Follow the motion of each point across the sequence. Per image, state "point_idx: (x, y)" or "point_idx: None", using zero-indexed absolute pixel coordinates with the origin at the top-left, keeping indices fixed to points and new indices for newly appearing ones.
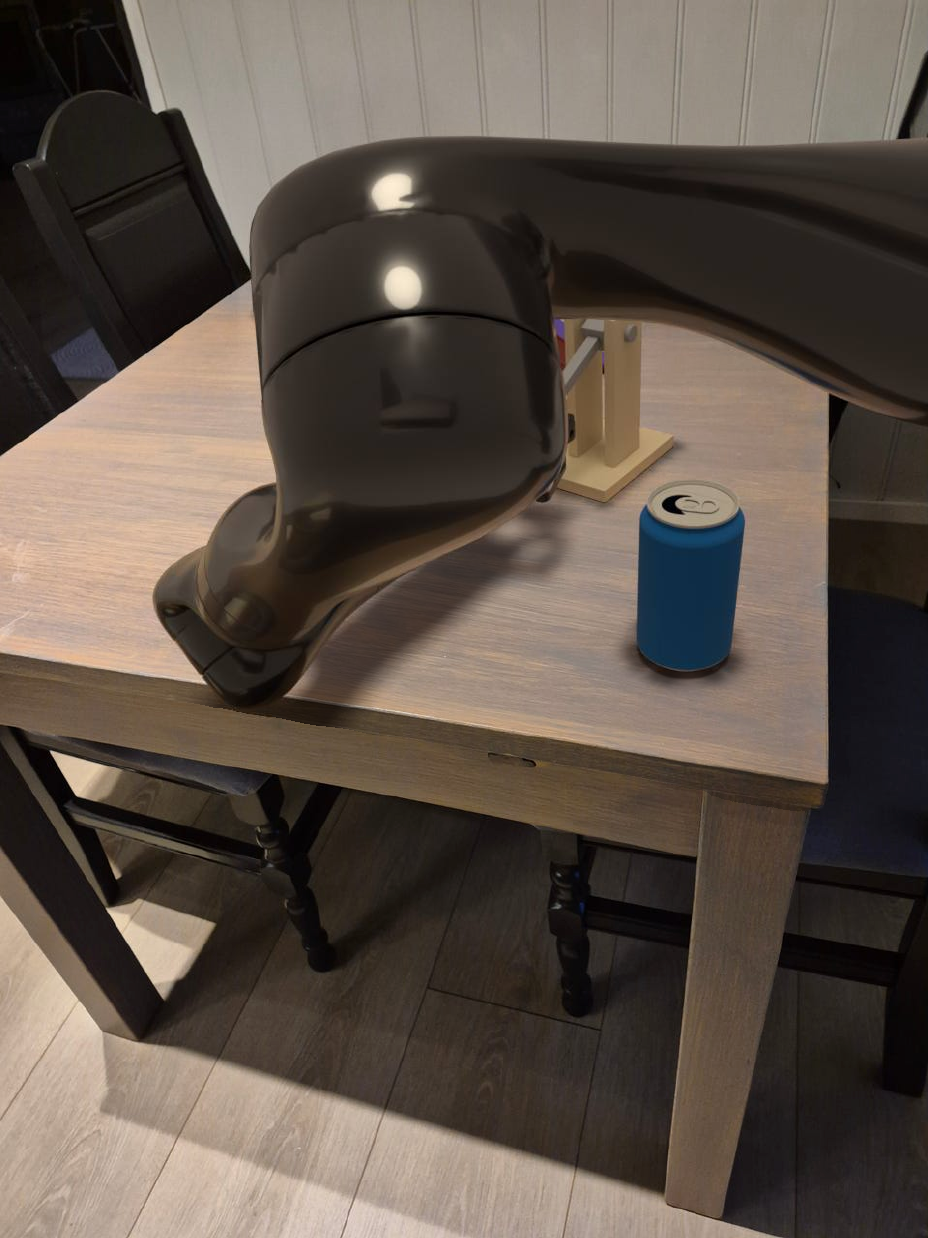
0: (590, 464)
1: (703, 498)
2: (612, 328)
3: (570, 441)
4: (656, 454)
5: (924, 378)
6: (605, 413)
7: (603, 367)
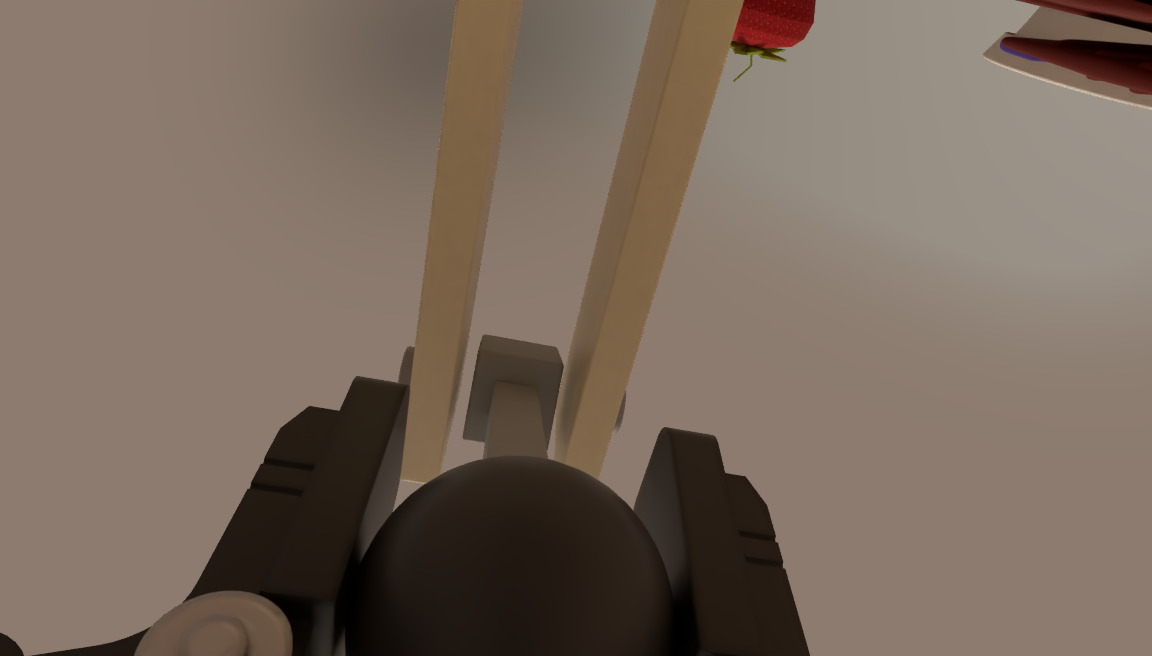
0: None
1: None
2: (407, 461)
3: (265, 460)
4: None
5: None
6: (477, 179)
7: None
